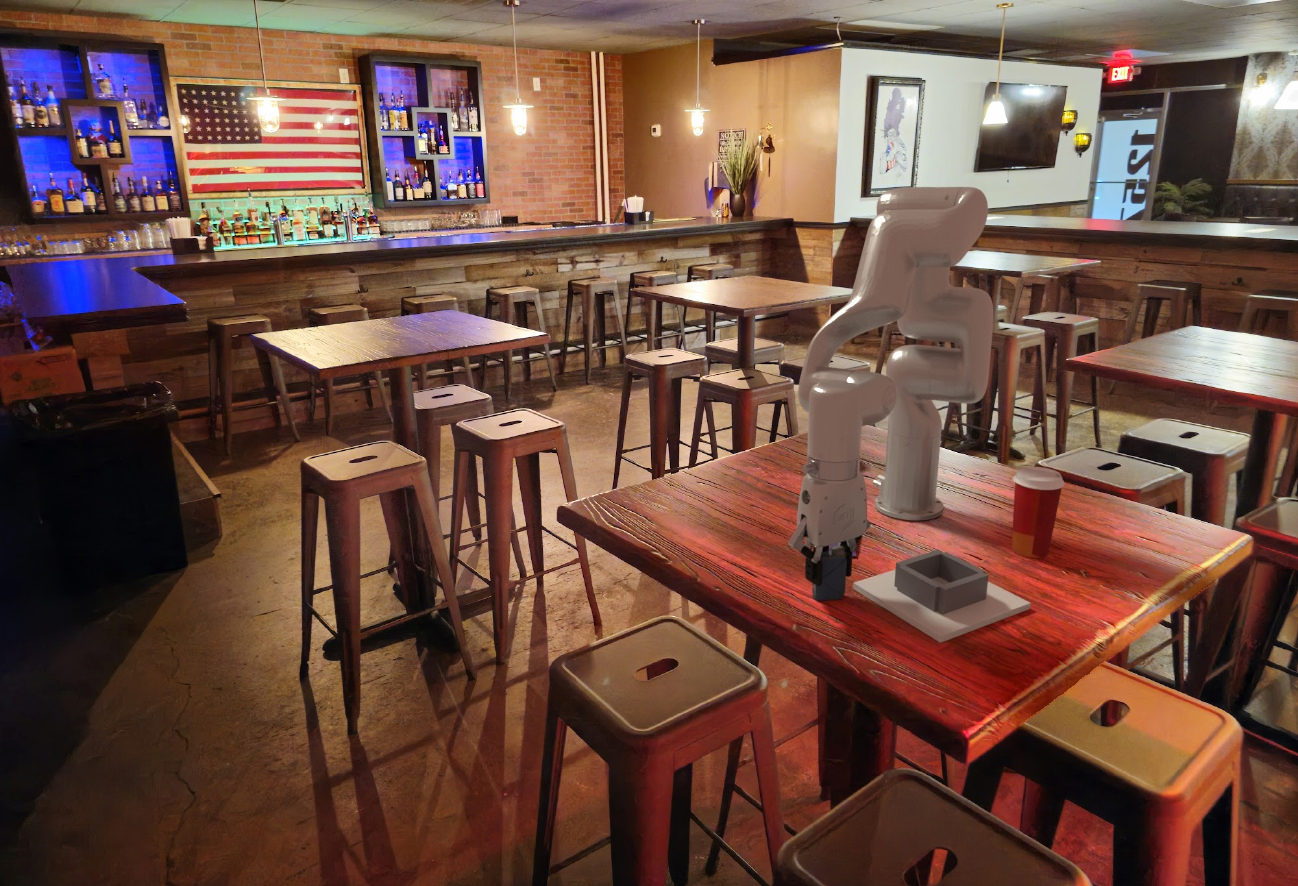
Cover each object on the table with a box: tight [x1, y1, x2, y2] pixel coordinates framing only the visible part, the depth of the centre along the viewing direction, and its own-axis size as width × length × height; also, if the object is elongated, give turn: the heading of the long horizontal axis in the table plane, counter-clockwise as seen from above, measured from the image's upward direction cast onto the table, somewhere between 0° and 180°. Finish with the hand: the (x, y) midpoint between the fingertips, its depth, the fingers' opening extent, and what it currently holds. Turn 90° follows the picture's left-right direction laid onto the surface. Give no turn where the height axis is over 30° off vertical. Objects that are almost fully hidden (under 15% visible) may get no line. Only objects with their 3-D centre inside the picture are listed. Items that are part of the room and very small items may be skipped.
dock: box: [852, 549, 1031, 644], centre depth 125 cm, size 18×18×5 cm
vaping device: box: [812, 544, 847, 601], centre depth 125 cm, size 3×5×12 cm, turn 95°
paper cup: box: [1011, 466, 1066, 559], centre depth 137 cm, size 8×8×14 cm
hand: (828, 576), depth 126 cm, fingers closed on vaping device, 5 cm apart
